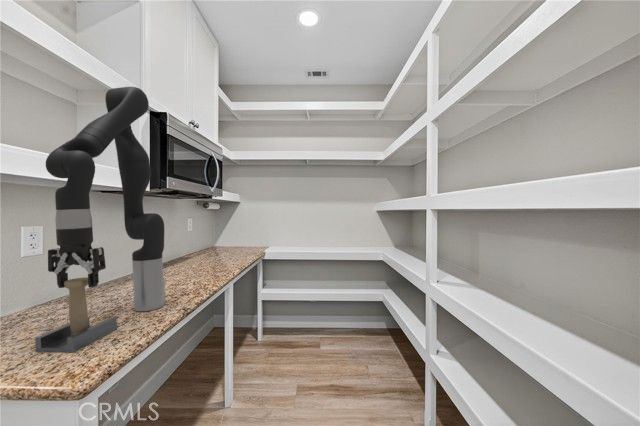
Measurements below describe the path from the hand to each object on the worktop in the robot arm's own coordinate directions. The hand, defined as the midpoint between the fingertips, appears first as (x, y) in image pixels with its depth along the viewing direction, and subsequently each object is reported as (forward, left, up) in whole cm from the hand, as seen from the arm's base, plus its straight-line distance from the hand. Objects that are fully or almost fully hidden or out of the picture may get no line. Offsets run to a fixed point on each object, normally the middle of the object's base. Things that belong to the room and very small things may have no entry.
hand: (78, 287), depth 80 cm
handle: (0, 0, -13) cm, 13 cm away
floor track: (0, 0, -14) cm, 14 cm away
